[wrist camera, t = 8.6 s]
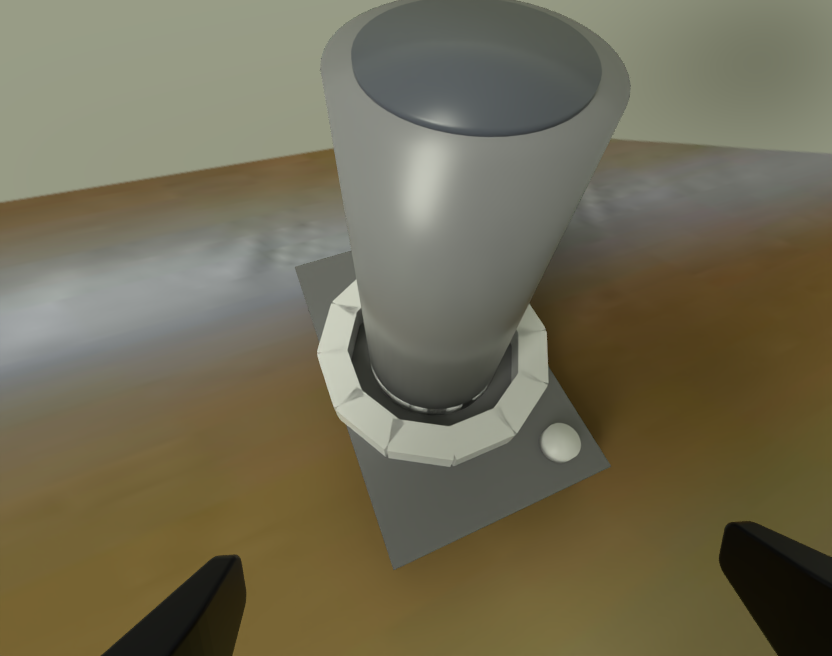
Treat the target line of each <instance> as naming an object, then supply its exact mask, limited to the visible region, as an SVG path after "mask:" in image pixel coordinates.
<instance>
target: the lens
mask: <svg viewBox="0 0 832 656" xmlns="http://www.w3.org/2000/svg"><path fill="white" fill-rule="evenodd" d="M320 70H321V76H322V82H323V88H324V93H325V99H326V105H327V111H328V117H329V123H330V128H331V134H332V140H333V146H334V152H335V157H336V163H337V169H338V175H339V181H340V187H341V192H342V198H343V204H344V210H345V216H346V222H347V227H348V233H349V239H350V245H351V251H352V257H353V262H354V268H355V274H356V280H357V286H358V291H359V297H360V303H361V309H362V315H363V321H364V326H365V332H366V338H367V344H368V350H369V356H370V361H371V367H372V372H373V374H374V377H375V380H376V382H377V384H378V385H379V387H380V388H381V390H382V391H383V392H384V393H385V394H386V395H387V397H388V398H390V399H391V400H392V401H393V402H394V403H396V404H397V405H399V406H401V407H402V408H405V409H407V410H409V411H412V412H415V413H418V414H423V415H434V416H437V415H446V414H451V413H455V412H457V411H460V410H462V409H464V408H466V407H468V406H470V405H471V404H472V403H474V402H475V401H476V400H477V399H478V398H480V397H481V395H482V394H483V393H484V392H485V390H486V389H487V387H488V385H489V384H490V382H491V380H492V378H493V376H494V374H495V372H496V370H497V368H498V365H499V363H500V361H501V359H502V357H503V355H504V353H505V351H506V349H507V347H508V345H509V343H510V341H511V339H512V337H513V335H514V333H515V331H516V329H517V327H518V325H519V323H520V321H521V319H522V317H523V315H524V313H525V311H526V309H527V307H528V305H529V303H530V301H531V299H532V297H533V295H534V293H535V291H536V289H537V287H538V285H539V283H540V281H541V279H542V277H543V275H544V273H545V270H546V268H547V266H548V264H549V262H550V260H551V258H552V256H553V254H554V252H555V250H556V248H557V246H558V244H559V242H560V240H561V238H562V236H563V234H564V232H565V230H566V228H567V226H568V224H569V222H570V220H571V218H572V216H573V214H574V212H575V210H576V208H577V206H578V204H579V202H580V200H581V198H582V196H583V194H584V192H585V190H586V188H587V186H588V184H589V182H590V180H591V178H592V175H593V173H594V171H595V169H596V167H597V165H598V163H599V161H600V159H601V157H602V155H603V153H604V151H605V149H606V147H607V145H608V143H609V141H610V139H611V137H612V135H613V133H614V131H615V129H616V127H617V125H618V123H619V121H620V119H621V117H622V115H623V113H624V110H625V109H626V106H627V103H628V100H629V97H630V86H631V85H630V80H629V75H628V72H627V70H626V67H625V65H624V63H623V61H622V60H621V58H620V57H619V55H618V54H617V53H616V52H615V51H614V49H613V48H612V47H611V46H610V45H609V44H608V43H607V42H606V41H604V40H603V39H602V38H601V37H600V36H599V35H597V34H596V33H594V32H593V31H591V30H590V29H588V28H587V27H585V26H583V25H582V24H580V23H578V22H576V21H574V20H572V19H570V18H568V17H566V16H564V15H561V14H559V13H556V12H554V11H551V10H548V9H545V8H543V7H539V6H536V5H532V4H529V3H525V2H521V1H516V0H398V1H394V2H391V3H388V4H384V5H381V6H379V7H376V8H373V9H370V10H368V11H367V12H364V13H362V14H360V15H358V16H356V17H355V18H353V19H351V20H350V21H348V22H347V23H346V24H344V25H343V26H342V27H341V28H339V29H338V30H337V31H336V32H335V34H334V35H333V36H332V37H331V38H330V40H329V41H328V43H327V45H326V46H325V48H324V51H323V54H322V58H321V69H320Z"/></svg>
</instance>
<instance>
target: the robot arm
mask: <svg viewBox="0 0 832 656" xmlns="http://www.w3.org/2000/svg"><path fill="white" fill-rule="evenodd" d="M719 563H720V566H721V569H722V571H723V573H724V575H725V576H726V578H727V579H728V581H729V582H730V584H731V585H732V587H733V588H734V590H735V591H736V593H737V594H738V596H739V597H740V599H741V600H742V602H743V603H744V605H745V606H746V608H747V610H748V611H749V613H750V614H751V616H752V617H753V619H754V620H755V622H756V623H757V625H758V626H759V628H760V629H761V631H762V632H763V634H764V635H765V637H766V638H767V640H768V641H769V643H770V645H771V646H772V648H773V649H774V651H775V652H776V653H777V655H778V656H832V557H830V556H828V555H825V554H823V553H821V552H819V551H817V550H814V549H812V548H810V547H808V546H806V545H803V544H801V543H799V542H797V541H795V540H792V539H790V538H788V537H786V536H784V535H781V534H779V533H777V532H775V531H773V530H770V529H768V528H766V527H764V526H762V525H759V524H757V523H755V522H751V521H742V522H731V523H728V524H727V525H726V527H725V529H724V534H723V539H722V544H721V549H720V554H719ZM245 603H246V587H245V581H244V575H243V568H242V562H241V559H240V557H239V556H238V555H220V556H215V557H213V558H212V559H211V560H209V561H208V562H207V563H206V564H205V565H204V566H202V567H201V568H200V569H199V570H198V571H197V572H196V573H194V574H193V575H192V576H191V577H190V578H189V579H188V580H187V581H185V582H184V583H183V584H182V585H181V586H180V587H179V588H177V589H176V590H175V591H174V592H173V593H172V594H171V595H169V596H168V597H167V598H166V599H165V600H164V601H163V602H161V603H160V604H159V605H158V606H157V607H156V608H155V609H154V610H152V611H151V612H150V613H149V614H148V615H147V616H146V617H144V618H143V619H142V620H141V621H140V622H139V623H138V624H136V625H135V626H134V627H133V628H132V629H131V630H130V631H128V632H127V633H126V634H125V635H124V636H123V637H122V638H121V639H119V640H118V641H117V642H116V643H115V644H114V645H113V646H111V647H110V648H109V649H108V650H107V651H106V652H105V653H103V654H102V655H101V656H232V655H233V651H234V647H235V643H236V639H237V635H238V631H239V627H240V624H241V620H242V616H243V612H244V608H245Z"/></svg>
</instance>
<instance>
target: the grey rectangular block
mask: <svg viewBox="0 0 832 656" xmlns="http://www.w3.org/2000/svg"><path fill="white" fill-rule="evenodd" d="M295 269H296V273H297V276H298V279H299V282H300V285H301V288H302V291H303V294H304V297H305V300H306V303H307V306H308V309H309V312H310V315H311V318H312V321H313V325H314V328H315V331H316V334H317V337H318V340H319V347H318V350H317V353H318V354H317V356H318V359H319V362H320V366H321V369H322V372H323V375H324V378H325V381H326V384H327V388H328V391H329V394H330V397H331V400H332V403H333V406H334V409H335V411H336V413H337V415H338V417H339V418H340V420H341V421H343V422H344V423H345V424H346V426H347V429H348V432H349V435H350V438H351V441H352V444H353V447H354V450H355V453H356V456H357V459H358V462H359V465H360V468H361V472H362V475H363V478H364V481H365V484H366V487H367V490H368V493H369V496H370V499H371V502H372V505H373V508H374V511H375V514H376V517H377V521H378V524H379V527H380V530H381V533H382V536H383V539H384V542H385V545H386V548H387V551H388V554H389V557H390V560H391V563H392V566H393V569H394V570H395V569H397V568H399V567H401V566H403V565H405V564H407V563H410V562H412V561H414V560H416V559H418V558H420V557H422V556H424V555H426V554H428V553H431V552H433V551H435V550H437V549H439V548H441V547H443V546H445V545H447V544H449V543H451V542H454V541H456V540H458V539H460V538H462V537H464V536H466V535H468V534H470V533H472V532H475V531H477V530H479V529H481V528H483V527H485V526H487V525H489V524H491V523H493V522H496V521H498V520H500V519H502V518H504V517H506V516H508V515H510V514H512V513H514V512H516V511H519V510H521V509H523V508H525V507H527V506H529V505H531V504H533V503H535V502H537V501H540V500H542V499H544V498H546V497H548V496H550V495H552V494H554V493H556V492H558V491H561V490H563V489H565V488H567V487H569V486H571V485H573V484H575V483H577V482H579V481H581V480H584V479H586V478H588V477H590V476H592V475H594V474H596V473H598V472H600V471H602V470H605V469H607V468H609V467H611V465H610V464H609V462H608V461H607V459H606V457H605V456H604V454H603V453H602V451H601V449H600V448H599V446H598V445H597V443H596V442H595V440H594V438H593V437H592V435H591V434H590V432H589V430H588V429H587V427H586V426H585V424H584V422H583V421H582V419H581V418H580V416H579V414H578V413H577V411H576V410H575V408H574V406H573V405H572V403H571V402H570V400H569V398H568V397H567V395H566V394H565V392H564V391H563V389H562V387H561V386H560V384H559V383H558V381H557V379H556V378H555V376H554V375H553V373H552V371H551V370H550V368H549V367H548V354H547V331H545V329H546V328H545V327H544V325H543V324H542V322H541V321H540V319H539V318H538V316H537V314H536V313H535V311H534V310H533V308H532V307H531V305H530V304H529V305H528V307H527V309H526V311H525V313H524V315H523V317H522V319H521V321H520V323H519V325H518V327H517V329H516V331H515V333H514V335H513V337H512V339H511V341H510V343H509V345H508V347H507V349H506V351H505V353H504V355H503V357H502V359H501V361H500V363H499V365H498V368H497V370H496V372H495V374H494V376H493V378H492V380H491V382H490V384H489V385H488V387H487V389H486V390H485V392H484V393H483V394H482V395H481V397H480V398H478V399H477V400H476V401H475V402H474V403H472V404H471V405H470V406H468V407H466V408H464V409H462V410H460V411H457V412H455V413H451V414H446V415H437V416H434V415H423V414H418V413H415V412H412V411H409V410H407V409H405V408H402V407H401V406H399V405H397V404H396V403H394V402H393V401H392V400H391V399H390V398H388V397H387V395H386V394H385V393H384V392H383V391H382V390H381V388H380V387H379V385H378V384H377V382H376V380H375V377H374V374H373V372H372V367H371V361H370V356H369V350H368V344H367V338H366V332H365V326H364V321H363V315H362V309H361V303H360V297H359V291H358V286H357V280H356V274H355V268H354V262H353V257H352V251H349V252H345V253H342V254H338V255H335V256H331V257H328V258H324V259H321V260H317V261H314V262H310V263H307V264H303V265H300V266H296V267H295Z"/></svg>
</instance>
